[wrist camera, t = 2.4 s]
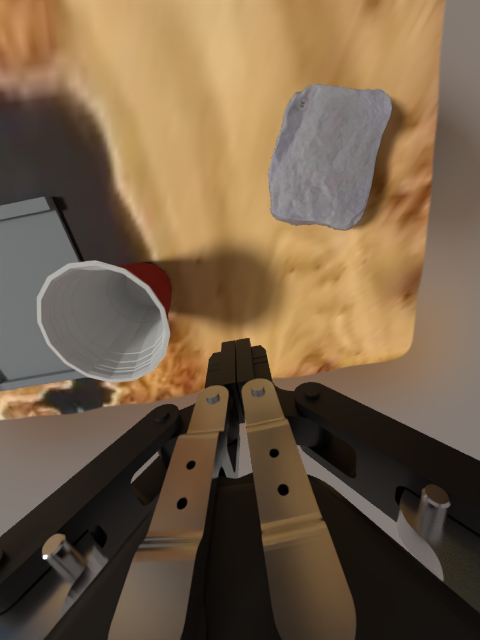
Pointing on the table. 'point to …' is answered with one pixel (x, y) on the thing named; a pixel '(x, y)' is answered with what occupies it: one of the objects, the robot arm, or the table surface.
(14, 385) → the grey tray
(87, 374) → the plastic cup
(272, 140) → the table surface
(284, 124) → the stone block
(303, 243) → the table surface
